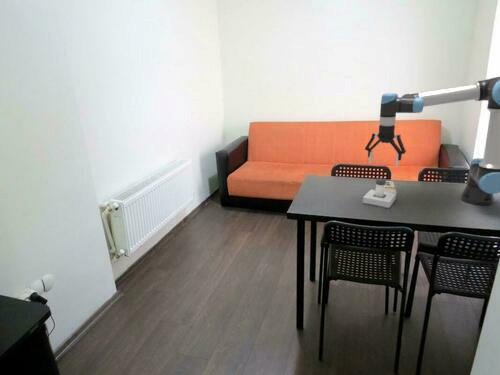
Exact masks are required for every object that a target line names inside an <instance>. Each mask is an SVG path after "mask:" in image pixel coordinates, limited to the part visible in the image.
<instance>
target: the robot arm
mask: <svg viewBox="0 0 500 375" xmlns="http://www.w3.org/2000/svg"><path fill="white" fill-rule="evenodd" d="M380 100H381V101H380V111H379V113H380V114H379V123H378V124H379V126H378V133H376V132H373V133H372V134H371V138H370V140H369V141H368V142H367V145H366V146H365V147H364V150H365V151H367V158H369V161H368V162H369V163H368V164H370V165H371V164H372V163H373V158H374V157H373V155H374V151H373V150H374V149H375V147H377V146H378V145H379V143H382V144H384V143H385V144H389V143H390V145H391V146H392V147H393V149H394V150H395V151H396V153H397V154H396V160H395V168H398V167H399V164H400V161H401V160H402V155H404V154H406V153H407V151H406V148H405V146H404V143H403V141H402V137H401V134H395V130H396V129H395V128H396V126H395V124H396V118H397V117H396V116H397V114H420V113H422V112H423V111H424V108H425V107H433V106H437V105H447V104H453V103H458V102H459V103H461V102H466V101H475V102H480V101H487V105H486V106H487V107H486V109H487V110H488V111H489V112H490V113H489V120H488V124H487V127H488V128H487V133H486V139H485V140H486V141H485V147H484V152H483V158H479V157H478V158H473V159H472V160H471V161H470V164H469V165H470V166H469V171H468V176H467V181H466V186H465V187H464V188H463V190H462V191H461V194H460V199H461V200H462V201H463V202H465V203H468V204H471V205H476V206H490V205H492V204H493V203H494V199H495V197H494V194H499V193H500V76H496V77H491V78H488V79H482V80H477V81H475V82H474V83H472V84H466V85H461V86H453V87H447V88H442V89H435V90H428V91H421V92H418V93H417V92H415V93H406V94H402V96H401V97H399V96H398V93H395V92H392V93H391V92H388V93H383V94H382V95H381V99H380ZM376 138H377V139H378V140H377V141H376V142H375V143H374V144H373V145H372V143H373V142H374V140H375V139H376ZM394 139H395V140H397V143H398V145H399V146H398V145H397V143H396V141H395V140H394ZM371 145H372V146H371Z"/></svg>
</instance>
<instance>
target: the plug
mask: <svg viewBox="0 0 500 375" xmlns="http://www.w3.org/2000/svg"><path fill="white" fill-rule="evenodd" d="M386 181H387V180H386V179H384V178H376V179H375V190H376V191H375V197H380V198H384V189H385V182H386Z"/></svg>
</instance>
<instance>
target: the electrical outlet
mask: <svg viewBox="0 0 500 375" xmlns="http://www.w3.org/2000/svg"><path fill="white" fill-rule="evenodd" d="M384 192H389V193H395V194H396V196H397V194H398V193H397V190H396V186H395V184H394V181H393V180H386V182H385V189H384Z"/></svg>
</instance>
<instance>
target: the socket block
mask: <svg viewBox="0 0 500 375" xmlns="http://www.w3.org/2000/svg"><path fill="white" fill-rule="evenodd" d="M375 191H376V189H370V190H369V191H368V192H367V193H366V194H365V195H363V197H362V204H363V205H364V204H365V205H369V206H372V207H373V206H374V207H380V208H385V209H390V208H391V207H392V206H393V204H394V203H395V201H396V200H397V199H396V198H397V195H396V194H395V193H389V192H384V198H380V197H375Z"/></svg>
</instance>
